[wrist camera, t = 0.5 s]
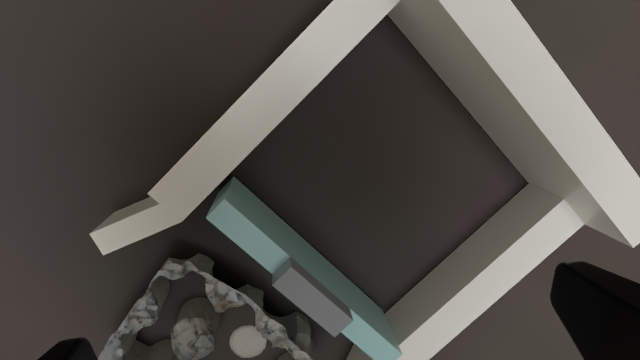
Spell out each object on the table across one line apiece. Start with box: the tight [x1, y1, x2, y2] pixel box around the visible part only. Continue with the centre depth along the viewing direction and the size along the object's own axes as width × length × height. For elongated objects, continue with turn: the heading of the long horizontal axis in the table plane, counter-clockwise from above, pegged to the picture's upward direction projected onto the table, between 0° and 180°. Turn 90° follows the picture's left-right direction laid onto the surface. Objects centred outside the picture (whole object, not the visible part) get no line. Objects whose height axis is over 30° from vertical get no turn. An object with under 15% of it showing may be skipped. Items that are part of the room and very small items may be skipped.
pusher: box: [206, 176, 403, 360], centre depth 20 cm, size 1×12×5 cm, turn 44°
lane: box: [90, 0, 640, 360], centre depth 20 cm, size 20×18×6 cm
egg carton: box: [98, 253, 315, 360], centre depth 22 cm, size 11×8×4 cm
